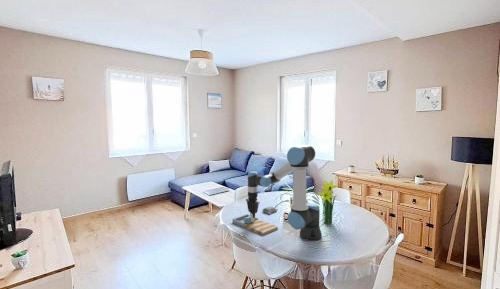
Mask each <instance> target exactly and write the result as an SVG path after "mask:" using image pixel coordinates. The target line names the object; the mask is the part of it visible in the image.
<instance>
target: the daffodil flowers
mask: <svg viewBox="0 0 500 289" xmlns="http://www.w3.org/2000/svg"><path fill="white" fill-rule="evenodd" d="M323 183H324V184H325V185H322V186H320V187H321V188H322V192H317V193H316V194H317V195H319V196H320V198H321V203H322V206H323V208H322V210H323V211H322V217H323V224H325V225H327V226H329V224H330V225H331V224H333V212H334V203H335V199H336V197H337V196H338V195H337V194H335V195H333V194H334V191H333V189H336V188H338V187H339V185H336V184H335V185H334V179H333V178H332V179H331V180H330V181H329V183H328V182H327V181H325V180H323Z"/></svg>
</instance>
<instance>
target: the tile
mask: <svg viewBox="0 0 500 289" xmlns="http://www.w3.org/2000/svg"><path fill="white" fill-rule="evenodd" d="M253 222H254V221H253ZM244 223H252V222H251V216H248V217H245V218H244Z"/></svg>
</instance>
